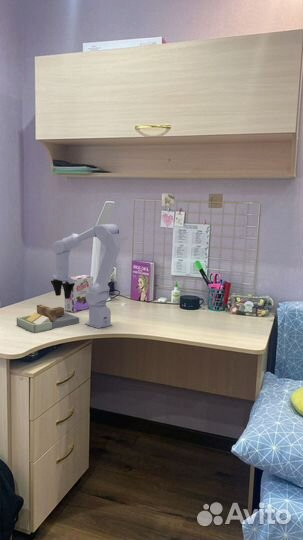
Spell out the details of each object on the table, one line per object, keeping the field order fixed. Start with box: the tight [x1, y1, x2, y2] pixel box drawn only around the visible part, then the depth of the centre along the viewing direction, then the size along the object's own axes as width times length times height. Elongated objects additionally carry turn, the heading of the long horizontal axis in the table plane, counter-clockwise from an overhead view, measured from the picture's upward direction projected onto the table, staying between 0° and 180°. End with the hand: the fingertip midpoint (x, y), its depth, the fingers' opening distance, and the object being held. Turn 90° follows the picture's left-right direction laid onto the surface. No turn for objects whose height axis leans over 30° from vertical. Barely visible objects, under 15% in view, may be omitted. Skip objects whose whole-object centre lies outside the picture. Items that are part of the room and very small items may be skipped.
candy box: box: [64, 274, 94, 314], centre depth 210 cm, size 14×6×16 cm, turn 143°
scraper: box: [36, 304, 65, 321], centre depth 186 cm, size 12×9×4 cm
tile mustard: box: [26, 312, 42, 324], centre depth 183 cm, size 5×5×2 cm
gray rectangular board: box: [16, 311, 80, 334], centre depth 185 cm, size 15×22×3 cm
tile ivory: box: [33, 315, 50, 325], centre depth 179 cm, size 5×5×2 cm
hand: (62, 296), depth 193 cm, fingers open, 7 cm apart
